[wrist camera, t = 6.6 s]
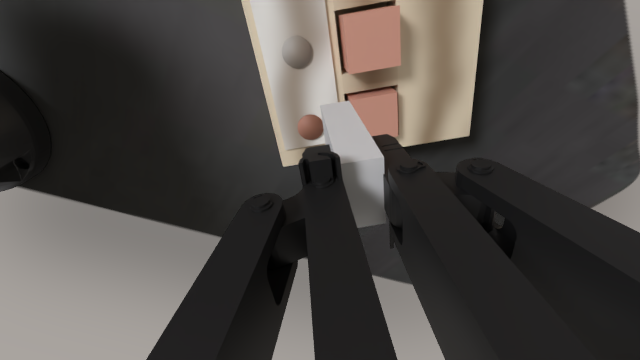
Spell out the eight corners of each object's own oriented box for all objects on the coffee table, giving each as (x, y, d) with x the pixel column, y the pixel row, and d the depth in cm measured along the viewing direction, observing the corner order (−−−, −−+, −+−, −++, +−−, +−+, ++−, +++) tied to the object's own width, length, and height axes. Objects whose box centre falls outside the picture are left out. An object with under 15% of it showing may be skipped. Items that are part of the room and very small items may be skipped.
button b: (343, 67, 28) (349, 74, 25) (338, 15, 26) (343, 15, 23) (389, 59, 28) (400, 65, 25) (387, 5, 26) (399, 5, 23)
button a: (349, 130, 33) (354, 143, 30) (345, 91, 31) (350, 100, 27) (388, 123, 33) (398, 136, 30) (387, 83, 31) (397, 92, 27)
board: (285, 151, 35) (282, 169, 31) (227, -90, 24) (212, -109, 20) (452, 123, 35) (471, 137, 31) (471, -138, 24) (504, -167, 20)
